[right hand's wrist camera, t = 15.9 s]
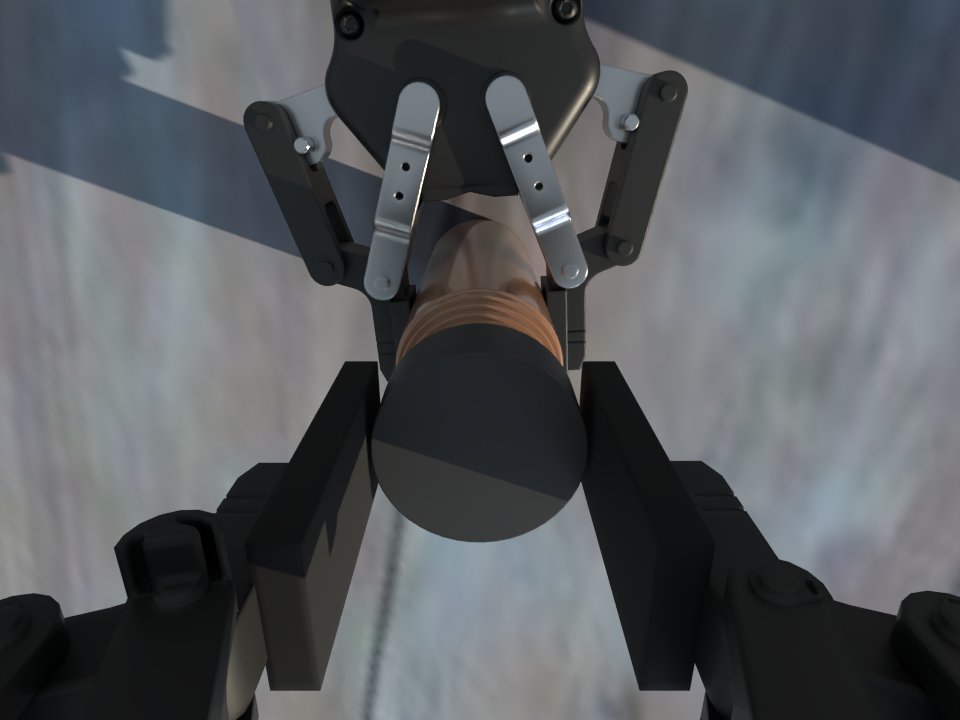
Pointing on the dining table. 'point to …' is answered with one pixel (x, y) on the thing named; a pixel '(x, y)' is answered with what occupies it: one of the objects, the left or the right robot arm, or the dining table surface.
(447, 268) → the bottle
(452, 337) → the cap
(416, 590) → the dining table surface
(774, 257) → the dining table surface
